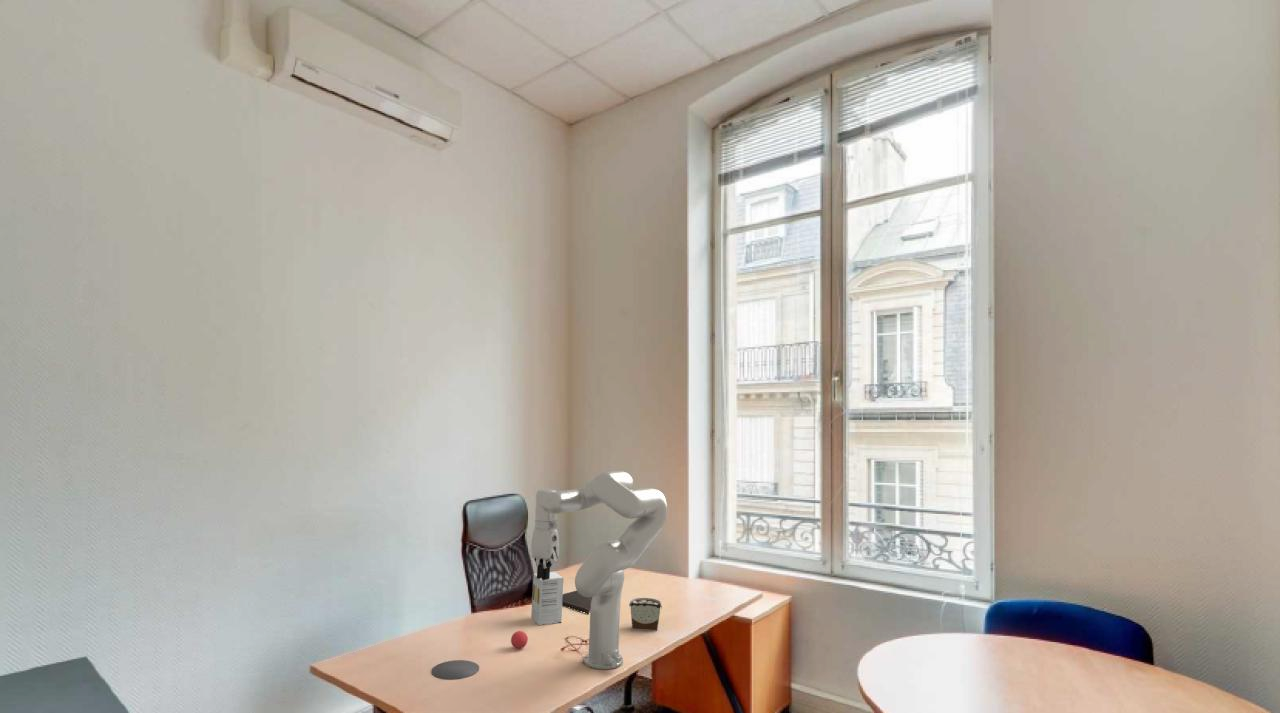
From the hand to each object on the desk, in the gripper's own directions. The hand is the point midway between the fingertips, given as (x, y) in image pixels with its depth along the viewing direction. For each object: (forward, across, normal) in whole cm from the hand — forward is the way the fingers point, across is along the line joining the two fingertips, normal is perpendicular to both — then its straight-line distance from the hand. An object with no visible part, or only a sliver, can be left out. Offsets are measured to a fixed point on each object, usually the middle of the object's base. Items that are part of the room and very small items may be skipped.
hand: (543, 578), depth 224 cm
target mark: (+21, 0, +34) cm, 40 cm away
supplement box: (+21, +14, -16) cm, 30 cm away
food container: (+21, -17, -37) cm, 46 cm away
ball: (+18, 0, +10) cm, 21 cm away
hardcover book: (+22, +20, -41) cm, 51 cm away
